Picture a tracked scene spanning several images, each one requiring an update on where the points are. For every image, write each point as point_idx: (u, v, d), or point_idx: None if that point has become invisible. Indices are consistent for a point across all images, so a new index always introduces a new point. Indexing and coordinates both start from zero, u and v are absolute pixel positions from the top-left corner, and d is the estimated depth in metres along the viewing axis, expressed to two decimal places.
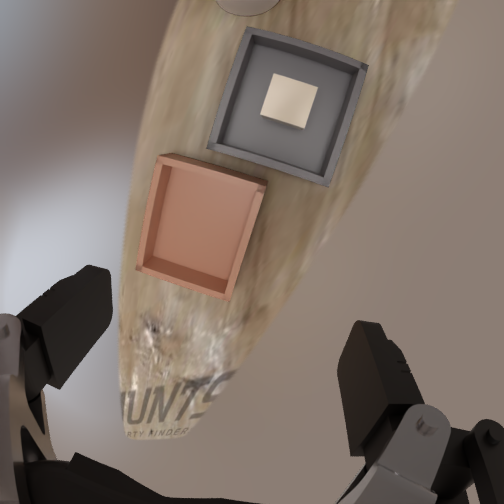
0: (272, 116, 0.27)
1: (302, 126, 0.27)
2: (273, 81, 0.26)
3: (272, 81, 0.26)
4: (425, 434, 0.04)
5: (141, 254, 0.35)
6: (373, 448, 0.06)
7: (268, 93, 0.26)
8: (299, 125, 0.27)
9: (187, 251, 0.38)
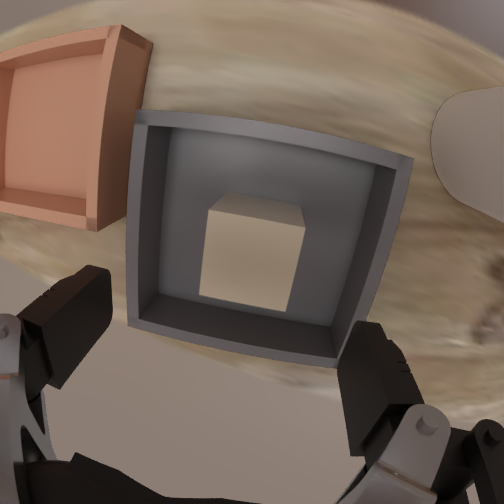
0: (208, 234, 0.14)
1: (201, 291, 0.15)
2: (286, 229, 0.14)
3: (286, 227, 0.14)
4: (425, 434, 0.04)
5: None
6: (373, 448, 0.06)
7: (257, 221, 0.14)
8: (202, 285, 0.15)
9: (21, 117, 0.17)
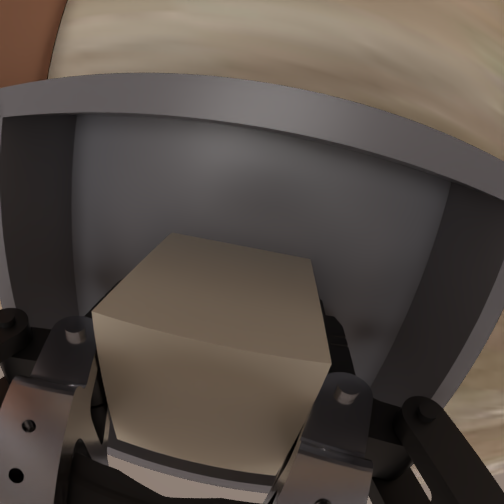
0: (104, 360, 0.05)
1: (120, 436, 0.07)
2: (282, 366, 0.05)
3: (281, 363, 0.05)
4: (339, 400, 0.05)
5: None
6: None
7: (206, 348, 0.05)
8: (118, 430, 0.06)
9: None
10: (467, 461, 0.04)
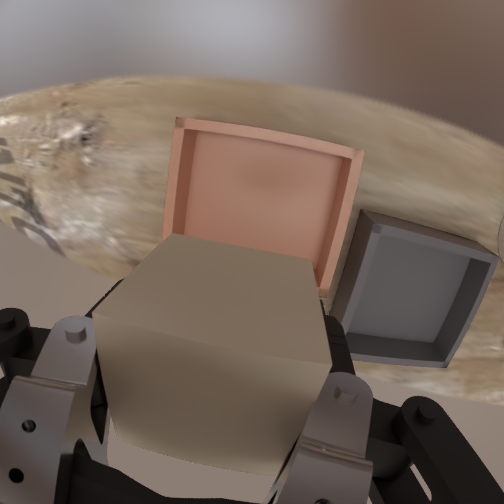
0: (104, 361, 0.05)
1: (120, 436, 0.07)
2: (282, 367, 0.05)
3: (282, 364, 0.05)
4: (339, 400, 0.05)
5: (204, 126, 0.21)
6: None
7: (207, 349, 0.05)
8: (118, 430, 0.06)
9: (213, 183, 0.26)
10: (467, 461, 0.04)
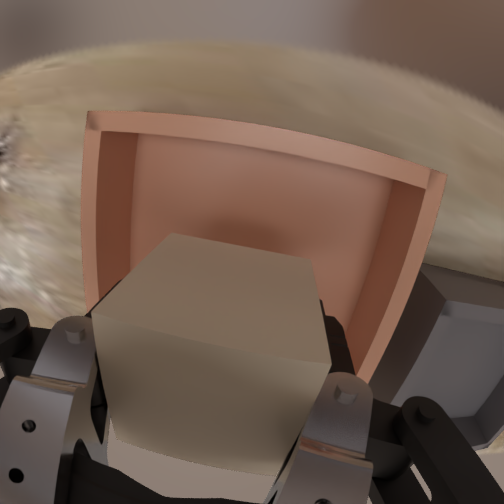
0: (104, 360, 0.05)
1: (119, 436, 0.07)
2: (282, 367, 0.05)
3: (281, 363, 0.05)
4: (339, 400, 0.05)
5: (134, 123, 0.10)
6: None
7: (206, 349, 0.05)
8: (118, 430, 0.06)
9: (168, 222, 0.15)
10: (467, 461, 0.04)
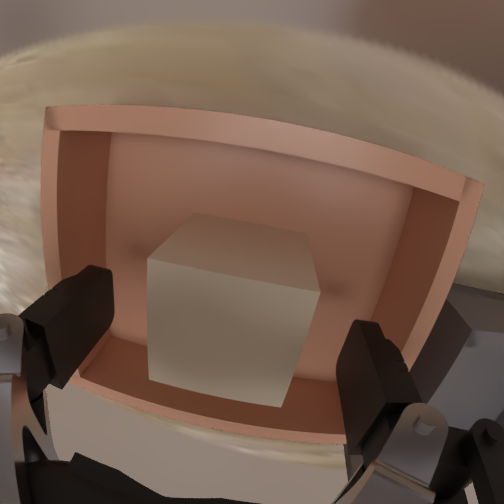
0: (151, 299, 0.08)
1: (152, 375, 0.09)
2: (285, 294, 0.08)
3: (285, 291, 0.07)
4: (422, 433, 0.04)
5: (96, 120, 0.08)
6: (371, 447, 0.06)
7: (232, 281, 0.08)
8: (152, 369, 0.09)
9: (147, 236, 0.13)
10: None
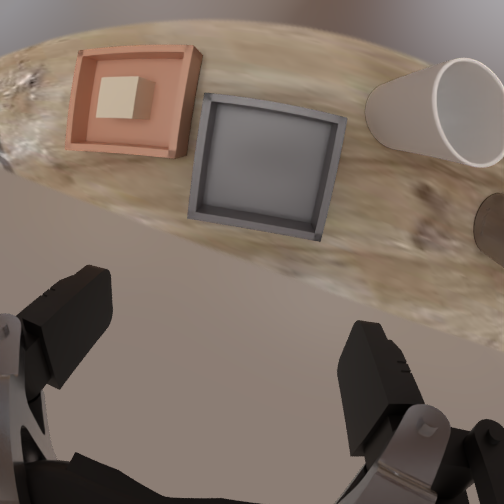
0: (101, 88, 0.25)
1: (97, 115, 0.26)
2: (130, 78, 0.25)
3: (130, 77, 0.25)
4: (425, 434, 0.04)
5: (93, 52, 0.25)
6: (373, 449, 0.06)
7: (119, 77, 0.25)
8: (97, 112, 0.26)
9: None
10: None
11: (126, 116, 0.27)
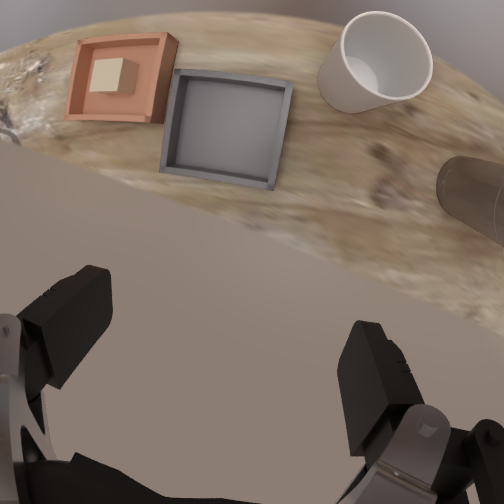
0: (94, 68, 0.30)
1: (90, 90, 0.31)
2: (117, 59, 0.29)
3: (117, 59, 0.29)
4: (425, 434, 0.04)
5: (89, 41, 0.29)
6: (373, 448, 0.06)
7: (108, 59, 0.29)
8: (90, 87, 0.31)
9: None
10: None
11: (112, 89, 0.31)
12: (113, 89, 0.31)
